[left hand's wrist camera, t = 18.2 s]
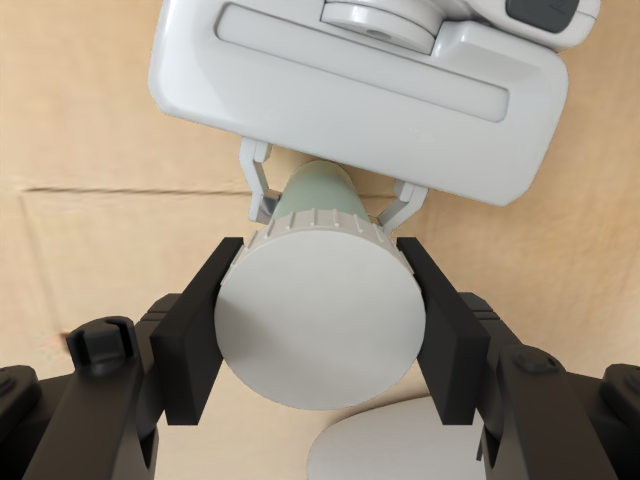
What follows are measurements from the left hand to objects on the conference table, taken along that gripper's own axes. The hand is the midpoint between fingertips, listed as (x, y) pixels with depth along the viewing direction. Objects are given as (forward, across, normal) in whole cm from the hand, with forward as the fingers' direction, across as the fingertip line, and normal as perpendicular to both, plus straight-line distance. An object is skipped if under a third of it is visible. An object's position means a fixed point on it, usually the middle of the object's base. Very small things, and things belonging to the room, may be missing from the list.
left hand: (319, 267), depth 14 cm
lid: (-4, 0, 0) cm, 4 cm away
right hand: (+7, 0, -1) cm, 7 cm away
